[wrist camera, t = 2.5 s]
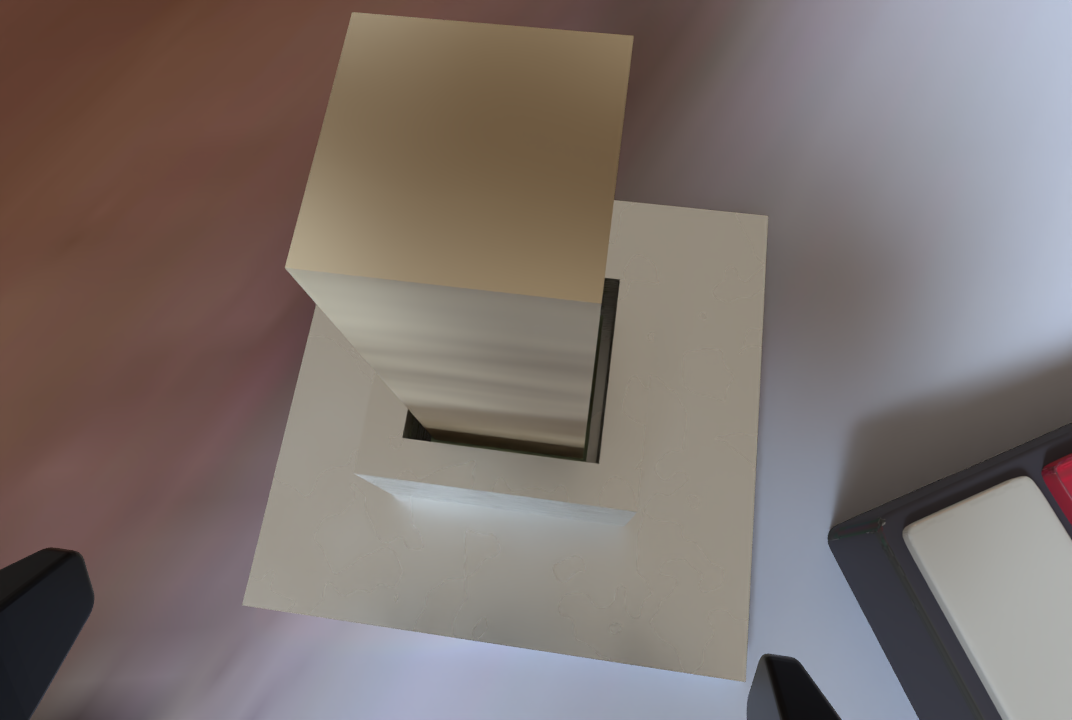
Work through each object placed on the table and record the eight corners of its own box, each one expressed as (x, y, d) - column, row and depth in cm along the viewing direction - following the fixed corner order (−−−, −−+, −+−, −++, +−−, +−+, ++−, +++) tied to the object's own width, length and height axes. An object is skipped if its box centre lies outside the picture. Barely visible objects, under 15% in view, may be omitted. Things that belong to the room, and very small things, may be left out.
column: (584, 474, 21) (608, 312, 9) (442, 455, 21) (275, 274, 9) (600, 339, 22) (641, 31, 10) (466, 323, 23) (346, 5, 10)
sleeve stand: (737, 677, 20) (796, 707, 15) (256, 604, 21) (155, 608, 16) (760, 230, 24) (813, 132, 19) (356, 188, 26) (302, 84, 20)
